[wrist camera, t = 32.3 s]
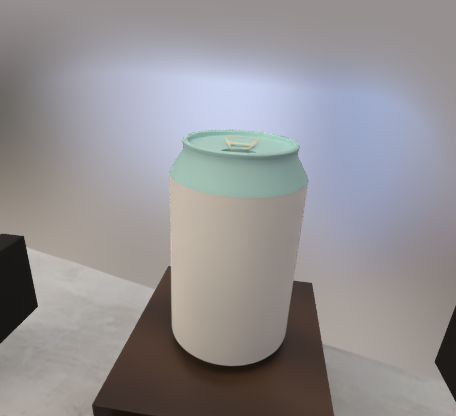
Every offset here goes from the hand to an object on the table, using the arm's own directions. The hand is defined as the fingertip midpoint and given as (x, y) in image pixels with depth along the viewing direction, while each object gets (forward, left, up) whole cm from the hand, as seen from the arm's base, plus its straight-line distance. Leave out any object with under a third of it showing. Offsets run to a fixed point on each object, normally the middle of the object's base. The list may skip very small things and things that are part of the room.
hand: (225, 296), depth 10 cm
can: (+1, -8, -9) cm, 12 cm away
